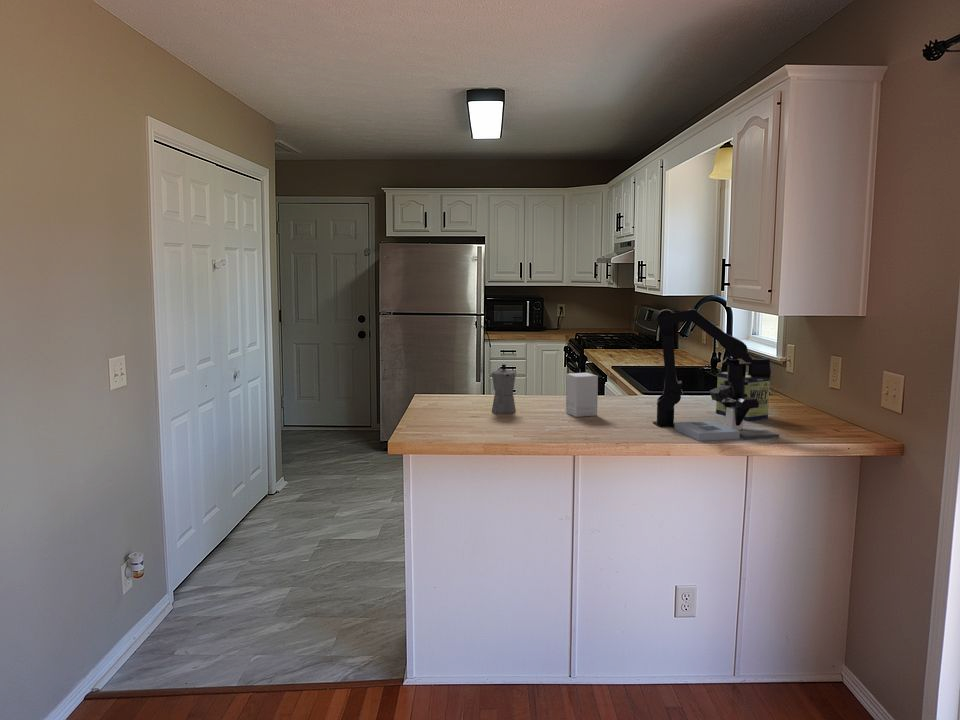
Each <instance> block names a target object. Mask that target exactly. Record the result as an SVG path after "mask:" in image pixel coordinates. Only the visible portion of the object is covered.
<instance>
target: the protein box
mask: <svg viewBox="0 0 960 720" xmlns="http://www.w3.org/2000/svg"><path fill="white" fill-rule="evenodd" d="M727 372H728V371H719V372H717V384H716V385H717V386H716V388H717V387H720V386H723V384H724V380H727ZM745 381H746V382H748V385H745V394H747V397H752V398H755V399H757V400H758V401H759V408H750V409H749V411H748V412H747V414H746V415H745V417H744V419H743V421H744V420H745V422H749V421H756V420H757V419H759V420H764V419H763V418H768V419H769V409H770V408H769V407H770V405H769V404H770V388H771V378H770V379H751V376H748V374H747V371H746V377H745ZM744 398H745V397H744ZM715 403H716V404H715V405H716V407H715V414H719V415H722V416H725V417H726V410H725V407H724V406H723V405H722V404H721V403H719V402H717V401H716V402H715ZM757 421H758V420H757Z"/></svg>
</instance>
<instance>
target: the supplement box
mask: <svg viewBox="0 0 960 720" xmlns="http://www.w3.org/2000/svg"><path fill="white" fill-rule="evenodd" d="M565 376H566V379H565V380H566V384H565V387H566V388H565V389H566V390H565V391H566V392H565V395H566V396H565V399H566V400H565V413H566V414H569V415H571V416H572V417H576V418H580V417H595V416H598V399H599V397H598V394H599V393H598V392H599V387H598V386H599V375H596V374H592V373H590V372H574V373H572V372H571V373H570V372H569V373H566V375H565Z"/></svg>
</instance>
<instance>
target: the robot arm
mask: <svg viewBox="0 0 960 720" xmlns="http://www.w3.org/2000/svg"><path fill="white" fill-rule="evenodd" d="M656 318H657V319H656V320H657V325H658V329H659V331H660V336H661V341H662V342H661V343H662V353H663V366H664V383H663V384H664V386H663V393H662V394H661V395H660V396H658V398H657V399H656V421H652V424H654V425H655V426H658V427H660V428H663V427H664V428H666V427H667V428H668V427H675V405H677V404H678V403H680V402H681V399H682V398H681V397H682V396H683V395H684V392H683V389H682V386H683V383H682V382H683V381H682V380H679V381H678V378H677V372H676V371H677V370H676V361H675V360H676V359H675V358H676V357H675V347H674V345H675V344H674V330H675V324H678V323H680V324H681V323H686V322H691V323H693V324H694V325H696V326H697V327H699V328H700V330H703V332H705V333H706V334H707V335H709V336H710V337H711V338H712V339H714V340H716V341H717V342H718V343H719V344H720V345H721V346H722V348H724V350H725V351H726V352H727V353H728V354H729V355H730V356H731V357H732V358H733V359H732V358H729V357H728V356H726V357H725V359H723V361H721V364H722V365H724V366H727V371H726V372H727V380H724V384H723V386H720V387H717V386H716V387H715V388H712V389H710V390H709V393H710V394H709V395H710V397H711V400H712V401H716V402H719V403H721V404H722V405H723V406H724V407H725V410H726V407H733V409H734V410H735V419H736V426H739V425H740V424H741V422H742V420H743V419H744V417H745V415H746V414H747V412H748V411H749V409H750V408H759V401H758V400H757V399H755V398H752V397H747V394H745V385H748V382H746V381H745V377H746V372H747V374H748V376H751V379H770V380H771V373H772V369H771V363H770V362H771V359H770V358H752V356H751V355H750V354H749V353H748V346H747V345H746V343H745V342H744V341H742V340H740V339H738V338H737V337H735V336H732V335H730V334H729V333H726V332H724V330H722V329H721V328H719V327H718V326H717V325H715V324H714V323H713V322H711V321H710V320H709V319H708V318H706V317H705V316H703V315H702V314H701V313H700V312H698V310H697V309H695V308H689V309H682V310H681V309H680V310H670V308H669V309H668V308H666V309H661V310H660V311H659V313H658V314H657V317H656ZM739 359H741V360H742V361H744V362H741V361H740V360H739ZM744 397H745V398H744ZM743 421H744V420H743Z"/></svg>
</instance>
